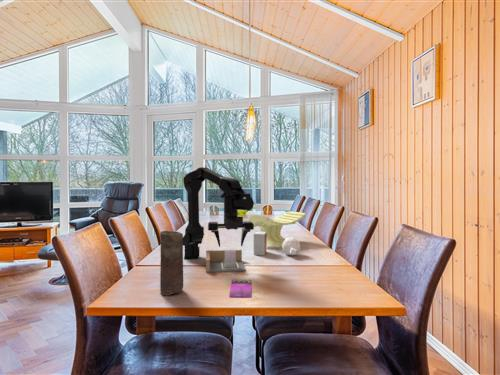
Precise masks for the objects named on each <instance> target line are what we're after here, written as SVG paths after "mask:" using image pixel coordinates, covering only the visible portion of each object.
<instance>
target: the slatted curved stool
mask: <svg viewBox="0 0 500 375" xmlns="http://www.w3.org/2000/svg"><path fill="white" fill-rule="evenodd" d="M306 218H307V212H299V211H291V210H290V211H287V212H285V214H282V215H280V216H279V217H276V218H273V219H272V218H270V217H269V216H265V215H260V214H253V213H252V214H250V215H249V217H248V221H251V222H252V223H253V224H254V228H256V227H260V228H259V229H260V232H267V245H268V246H270V247H273V246H274V247H275V248H277V249H279V248H282V244H283V241H284V240H285V239H286V238H284V237H283V236H282V235H281V230H282V228H283V226H288V225H296V223H299V222H300V221H303V219H306Z"/></svg>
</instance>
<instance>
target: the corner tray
mask: <svg viewBox="0 0 500 375" xmlns="http://www.w3.org/2000/svg"><path fill="white" fill-rule="evenodd" d="M225 250H226V249H215V250H214V249H212V250H209V249H208V250H206V251H205V273H207V274H208V273H229V272H230V273H231V272H246V271H247V270H246V267H245V264H244V263H243V260H242V259H243V258H242V257H243V251H242V249H235V250H236V268H225V266H224V259H225Z"/></svg>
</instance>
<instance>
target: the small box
mask: <svg viewBox="0 0 500 375" xmlns="http://www.w3.org/2000/svg"><path fill="white" fill-rule="evenodd" d="M266 253H267V232H261V231H256V232H255V233H253V255H255V256H265V255H266Z"/></svg>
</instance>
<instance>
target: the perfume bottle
mask: <svg viewBox="0 0 500 375" xmlns="http://www.w3.org/2000/svg"><path fill="white" fill-rule="evenodd" d="M284 239H285V240H284V241H283V244H282V247H281V248H282V251H283V252H284V253H285V254H286V255H288V256H290V257H292V256H295V255H297V254H298V252H299V251H300V248H301V244H300V242H299V240H298V239H297V238H295V237H292V236H290V237H287V238H284Z"/></svg>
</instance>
